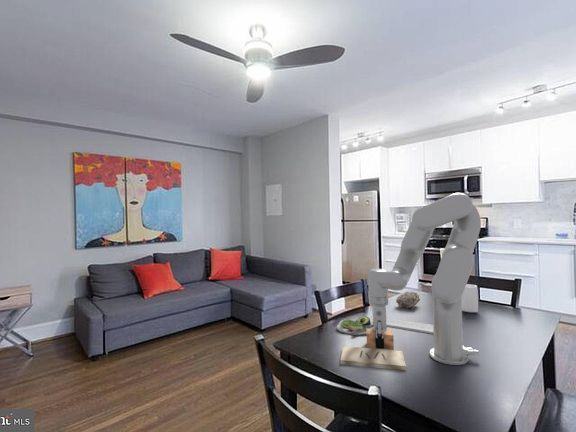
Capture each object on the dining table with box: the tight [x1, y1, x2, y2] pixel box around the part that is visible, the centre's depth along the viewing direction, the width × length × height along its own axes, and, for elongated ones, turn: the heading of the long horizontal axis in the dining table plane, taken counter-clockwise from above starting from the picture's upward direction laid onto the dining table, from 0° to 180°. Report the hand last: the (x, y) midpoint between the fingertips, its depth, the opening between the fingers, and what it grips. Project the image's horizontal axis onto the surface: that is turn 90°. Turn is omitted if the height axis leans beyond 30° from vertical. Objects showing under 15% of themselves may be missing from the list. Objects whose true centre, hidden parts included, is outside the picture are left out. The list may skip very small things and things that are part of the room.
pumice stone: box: [395, 291, 421, 309], centre depth 176 cm, size 14×12×8 cm
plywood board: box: [340, 345, 407, 371], centre depth 113 cm, size 22×12×2 cm, turn 75°
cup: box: [461, 283, 479, 313], centre depth 163 cm, size 8×8×14 cm
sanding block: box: [366, 328, 395, 350], centre depth 124 cm, size 10×6×6 cm, turn 78°
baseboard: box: [368, 315, 434, 335], centre depth 149 cm, size 31×3×12 cm
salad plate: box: [336, 316, 374, 336], centre depth 143 cm, size 19×18×5 cm
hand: (379, 344), depth 124 cm, fingers closed on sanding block, 6 cm apart
